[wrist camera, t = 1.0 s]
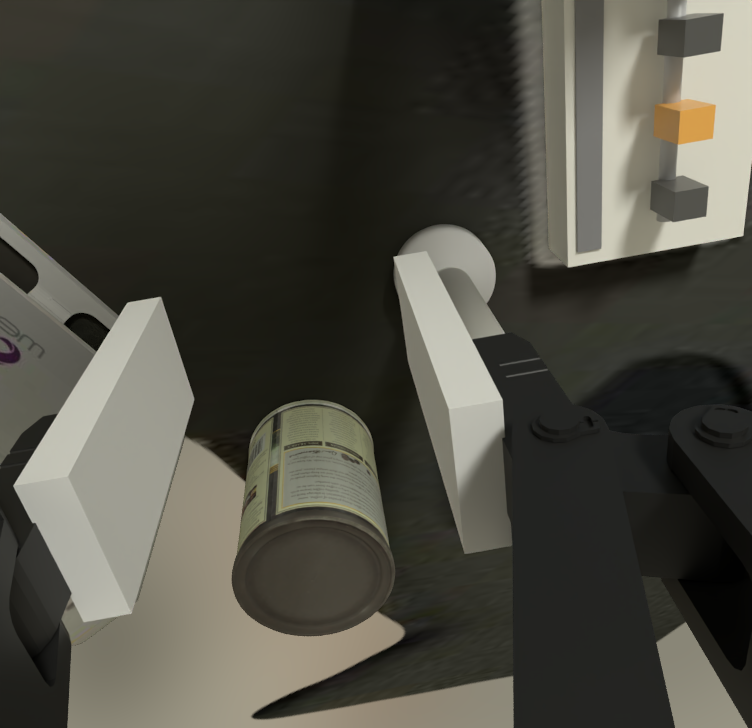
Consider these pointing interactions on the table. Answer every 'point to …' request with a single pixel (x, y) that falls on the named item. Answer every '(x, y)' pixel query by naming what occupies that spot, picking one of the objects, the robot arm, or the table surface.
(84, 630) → the network device
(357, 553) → the coffee can
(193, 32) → the table surface
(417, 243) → the white peg stand
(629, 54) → the breaker panel
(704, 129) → the breaker paddles
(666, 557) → the robot arm
